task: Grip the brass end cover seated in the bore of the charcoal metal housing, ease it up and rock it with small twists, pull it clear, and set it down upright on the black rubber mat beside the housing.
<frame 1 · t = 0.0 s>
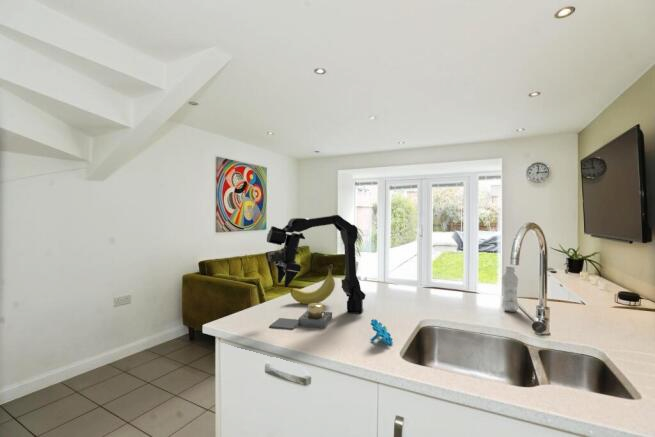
hand: (282, 284, 128), 15 cm above the worktop, tool pointing down, fingers open, 9 cm apart
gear: (381, 342, 107), on the worktop
end cover: (315, 313, 127), in the housing
mat: (286, 324, 125), on the worktop
plastic bottle: (510, 311, 142), on the worktop
housing: (315, 322, 127), on the worktop
banana: (312, 304, 155), on the worktop
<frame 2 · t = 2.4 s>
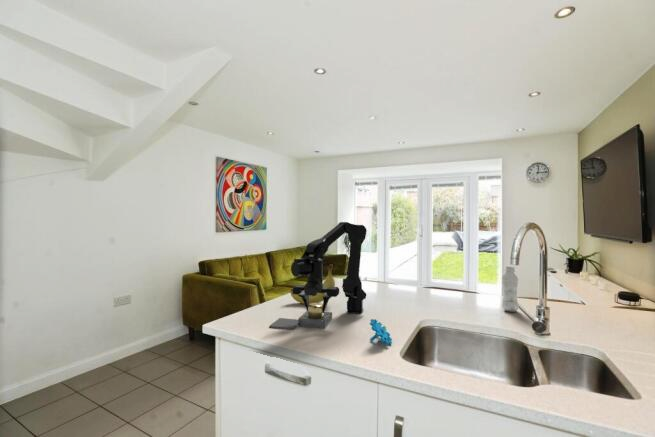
hand: (315, 311, 127), 5 cm above the worktop, tool pointing down, fingers closed on end cover, 6 cm apart
end cover: (315, 313, 127), in the housing, touching gripper
everything else where it was.
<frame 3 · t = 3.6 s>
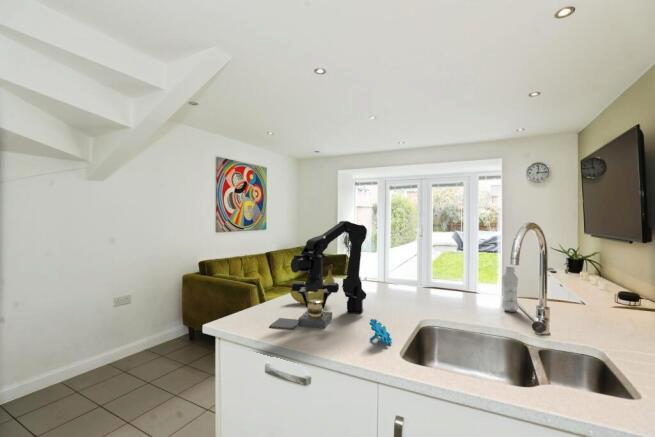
hand: (315, 308, 127), 6 cm above the worktop, tool pointing down, fingers closed on end cover, 6 cm apart
end cover: (315, 310, 127), point 5 cm above the worktop, touching gripper
everything else where it was.
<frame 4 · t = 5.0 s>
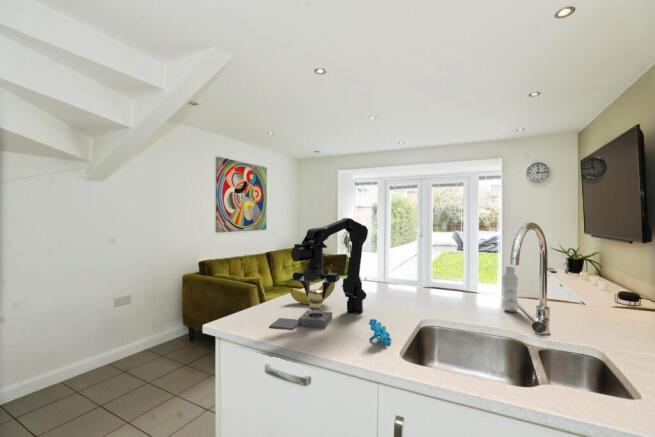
hand: (315, 297, 127), 10 cm above the worktop, tool pointing down, fingers closed on end cover, 6 cm apart
end cover: (315, 299, 127), point 9 cm above the worktop, touching gripper
everything else where it was.
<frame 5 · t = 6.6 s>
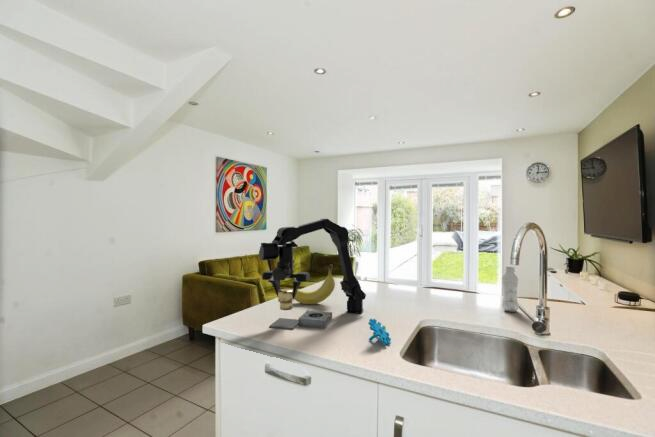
hand: (286, 297, 125), 11 cm above the worktop, tool pointing down, fingers closed on end cover, 6 cm apart
end cover: (286, 299, 125), point 10 cm above the worktop, touching gripper
everything else where it was.
when the fingers open (6 cm above the worktop, at t = 8.0 s): end cover drops 1 cm, resting on mat.
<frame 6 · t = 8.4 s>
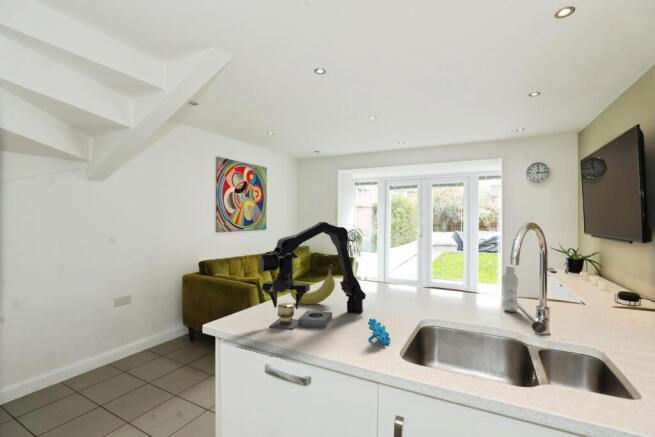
hand: (286, 308, 125), 6 cm above the worktop, tool pointing down, fingers open, 9 cm apart
end cover: (286, 313, 125), on the mat, point 4 cm above the worktop
everything else where it was.
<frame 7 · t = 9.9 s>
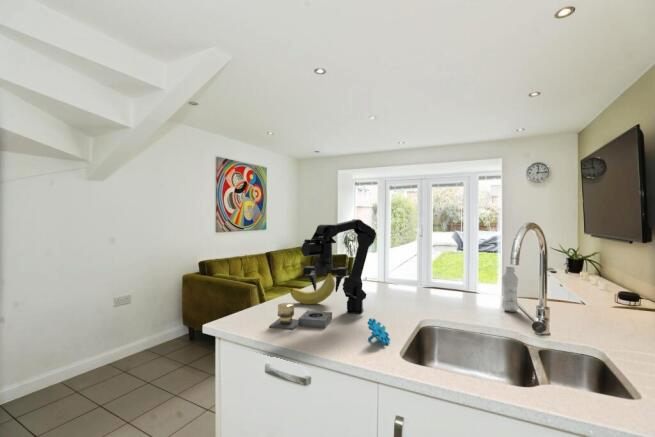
hand: (325, 291, 131), 12 cm above the worktop, tool pointing down, fingers open, 9 cm apart
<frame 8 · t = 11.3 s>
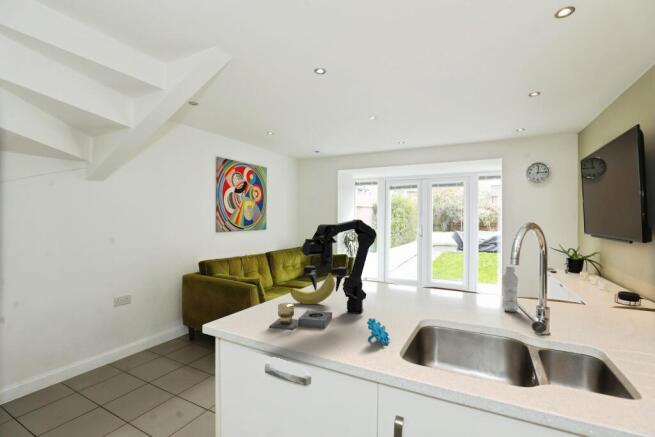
hand: (326, 290, 131), 12 cm above the worktop, tool pointing down, fingers open, 9 cm apart
at the end: end cover 0.0 cm off-centre on the mat, point 4.2 cm above the mat's base; end cover tilted 1°; end cover touching mat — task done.
